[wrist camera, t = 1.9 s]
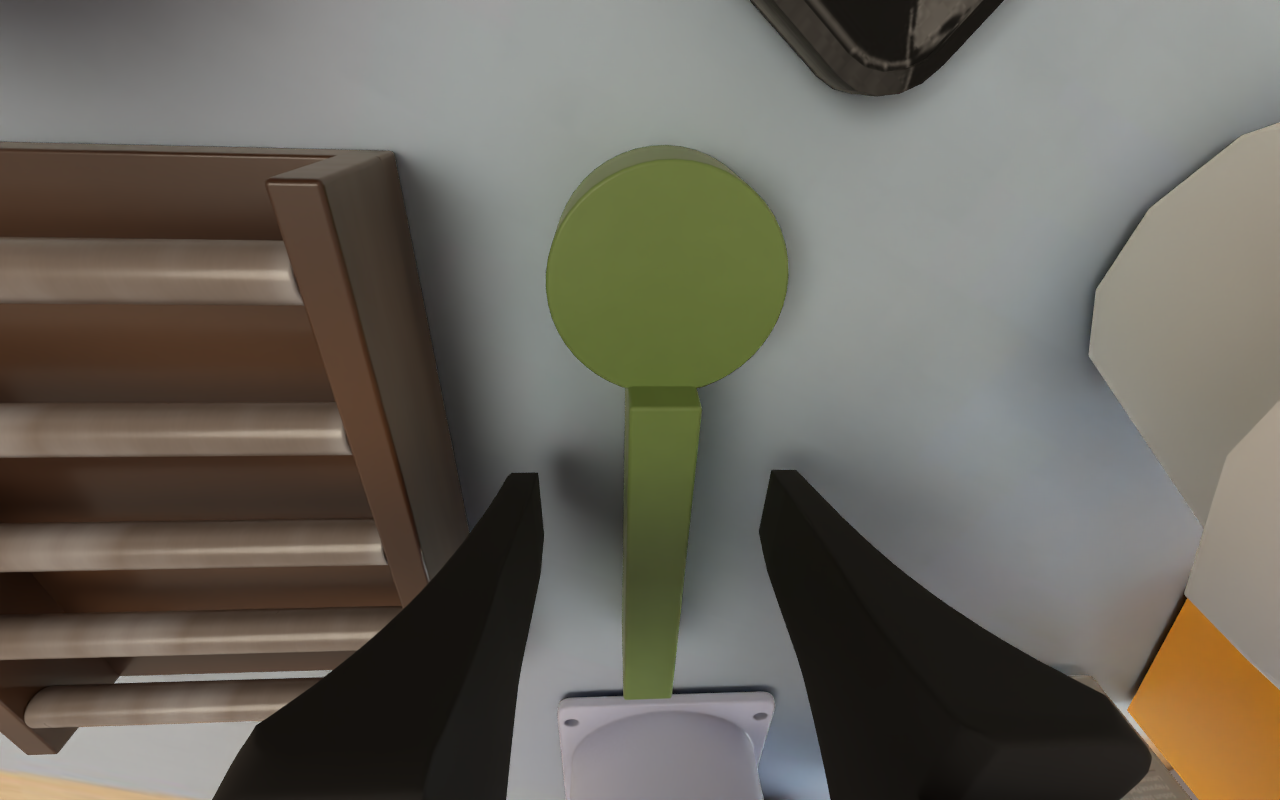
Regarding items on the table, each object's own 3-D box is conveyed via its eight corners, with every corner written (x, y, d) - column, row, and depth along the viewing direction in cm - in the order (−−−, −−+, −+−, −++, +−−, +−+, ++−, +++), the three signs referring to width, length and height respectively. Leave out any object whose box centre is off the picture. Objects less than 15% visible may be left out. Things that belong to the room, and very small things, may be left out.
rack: (492, 643, 18) (472, 739, 15) (113, 653, 17) (26, 756, 15) (395, 149, 10) (320, 179, 7) (-319, 134, 9) (-674, 160, 7)
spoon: (709, 619, 18) (723, 697, 15) (575, 622, 17) (570, 703, 15) (781, 147, 10) (829, 169, 8) (547, 141, 10) (529, 163, 8)
